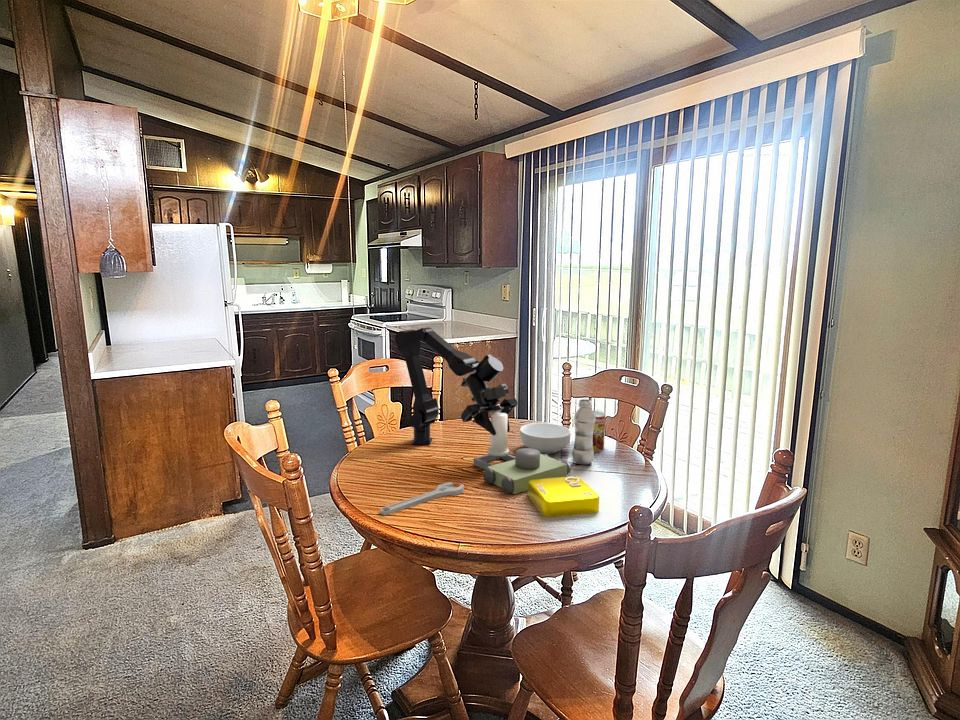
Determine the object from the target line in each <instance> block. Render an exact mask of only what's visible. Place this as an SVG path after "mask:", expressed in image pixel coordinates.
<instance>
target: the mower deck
mask: <svg viewBox="0 0 960 720" xmlns="http://www.w3.org/2000/svg"><path fill="white" fill-rule="evenodd" d="M514 452H515V454H514V455H512V454H510V453H509V454H508V455H506V456H492V455H490V454H484V455H481V456H477V457H474V458H473V465H474V466H476V467H479V468H480V469H483V470H484V471H483V479H484V481H485V483H486V484H488V485H490V484H493V485H495V486H496V487H499V488H501V489H502V491H503V492H504V493H505V494H510V493H511V494H512V495H517V494H519V493H523V492H527V491H528V482H529V481H530V480H533V479H545V478H558V477H568V475H570V472H571V468H570V465H569V463H568V462H567V461H565V460H564V461H559V460H557V459H556V458H555V459H554V458H552V457H550V456H549V454H543V453H540V452H539V451H538V450H536V449H531V448H528V447H524V448H523V447H522V448H518V449H516V450H515V451H514ZM496 459H497V460H500V459H502V460H504V461H505V462H500V463H497V464H491V463H489V462H492V461H496Z"/></svg>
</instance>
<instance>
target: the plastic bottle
mask: <svg viewBox="0 0 960 720" xmlns="http://www.w3.org/2000/svg"><path fill="white" fill-rule="evenodd" d="M578 407H579V408H578V409H577V411H576V412H575V414H574V416H573V422H574V443H573V449H572V453H571V457H572V460H573V462H574V463H575V464H578V465H584V466H585V465H590V464H592V462H593V461H594V457H595V452H594V451H593V430H594V425H595V419H596V417H595V414H594V412H593V411H594V410H592V400H590V399H589V398H588V399H585V398H583V399H579V401H578Z"/></svg>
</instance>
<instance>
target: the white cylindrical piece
mask: <svg viewBox="0 0 960 720" xmlns="http://www.w3.org/2000/svg"><path fill="white" fill-rule="evenodd" d="M508 420H509V414H508V415H507V414H506V413H497V412H491V414H490V421H491V423H492V425H493V427H494V429H495V432H496V434H495V435H492V434H491V433H490V447H488V449H487V453H488V454H490V455H492V456H506V455H508V454H509V455H510V449H509V448H508V432H507V422H508ZM488 454H487V455H488Z"/></svg>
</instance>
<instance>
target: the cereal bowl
mask: <svg viewBox="0 0 960 720" xmlns="http://www.w3.org/2000/svg"><path fill="white" fill-rule="evenodd" d="M519 438H520V441H521V443H522V444H523V445H524V446H525V447H526V448H531V449H536V450H538V451H539V452H540V454H543V453H549V454H554V453H556V452H558V451H561V450H563V449H565V448H566V447H567V446H568V444H570V440H571V430H570V429H569V428H568V427H566V426H563V425H559V424H554V423H548V422H547V423H546V422H532V423H528V424H527V423H526V424H524V425H522V426H521V427H520V429H519ZM555 451H556V452H555ZM553 452H554V453H553Z"/></svg>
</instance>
